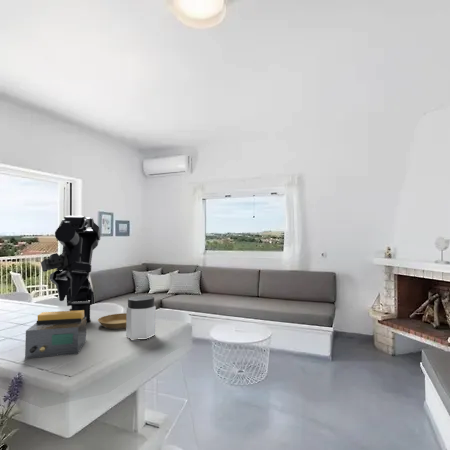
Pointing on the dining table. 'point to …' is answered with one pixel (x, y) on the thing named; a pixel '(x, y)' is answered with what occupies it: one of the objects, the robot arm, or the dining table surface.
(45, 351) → the box
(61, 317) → the key
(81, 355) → the dining table surface
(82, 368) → the dining table surface
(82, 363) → the dining table surface
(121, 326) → the plant saucer
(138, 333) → the jar
